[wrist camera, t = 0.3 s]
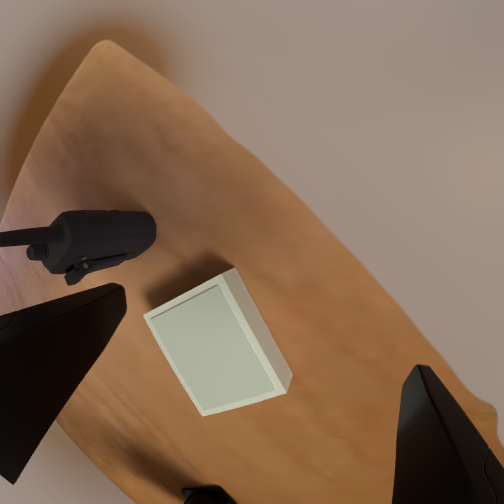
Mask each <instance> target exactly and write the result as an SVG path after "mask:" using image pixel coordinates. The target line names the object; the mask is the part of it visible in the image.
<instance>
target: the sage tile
mask: <svg viewBox="0 0 504 504" xmlns="http://www.w3.org/2000/svg"><path fill="white" fill-rule="evenodd" d="M143 316H144V318H145V320H146V322H147V324H148V326H149V328H150V330H151V331H152V333H153V335H154V337H155V339H156V341H157V342H158V344H159V346H160V348H161V350H162V351H163V353H164V355H165V357H166V358H167V360H168V362H169V364H170V365H171V367H172V369H173V370H174V372H175V374H176V375H177V377H178V379H179V380H180V382H181V384H182V385H183V387H184V388H185V390H186V392H187V393H188V395H189V396H190V398H191V399H192V401H193V403H194V404H195V406H196V407H197V409H198V410H199V412H200V413H201V415H202V416H207V415H211V414H215V413H219V412H223V411H227V410H231V409H234V408H238V407H242V406H245V405H249V404H252V403H256V402H259V401H262V400H266V399H269V398H272V397H275V396H278V395H281V394H284V393H287V390H288V387H289V385H290V382H291V379H292V376H293V373H292V371H291V370H290V368H289V366H288V364H287V362H286V360H285V359H284V357H283V355H282V353H281V351H280V349H279V348H278V346H277V344H276V342H275V340H274V338H273V337H272V335H271V333H270V331H269V329H268V327H267V325H266V324H265V322H264V320H263V318H262V316H261V314H260V312H259V311H258V309H257V307H256V305H255V303H254V301H253V299H252V297H251V296H250V294H249V292H248V290H247V288H246V286H245V284H244V282H243V280H242V279H241V277H240V275H239V273H238V271H237V269H236V267H234V268H232V269H230V270H228V271H226V272H224V273H222V274H220V275H218V276H216V277H214V278H212V279H210V280H208V281H207V282H205V283H203V284H201V285H199V286H197V287H195V288H193V289H191V290H190V291H188V292H186V293H184V294H182V295H180V296H178V297H176V298H174V299H173V300H171V301H169V302H167V303H165V304H163V305H161V306H159V307H157V308H156V309H154V310H152V311H150V312H148V313H146V314H144V315H143Z"/></svg>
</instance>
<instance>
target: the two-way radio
mask: <svg viewBox="0 0 504 504" xmlns="http://www.w3.org/2000/svg"><path fill="white" fill-rule="evenodd" d="M155 238H156V224H155V222H154V219H153V218H152V217H151V216H150V214H148V213H145V212H136V211H117V210H112V211H108V212H107V211H106V210H75V211H67V212H63V213H61V214H60V215H59V216H58V217H57V218H56V219H55V220H54V221H53V222H52V224H51V225H50V226H48V227H38V228H28V229H20V230H13V231H6V232H0V247H7V246H21V245H30V246H28V248H27V251H26V252H27V257H28V258H29V259H30V260H39V261H42V263H43V265H44V267H45V268H47V269H48V270H49V271H50V273H52V274H65V273H66V275H65V276H64V278H65V280H66V283H67V285H68V286H69V285H74V284H77V283H78V282H79V281H81V279H82V278H83V277H84V276H85V275H86V274H88V273H91V272H94V271H98V270H101V269H105V268H109V267H113V266H117V265H119V264H121V263H122V262H123V261H125V260H130V259H133V258H136V257H137V256H139V255H140V254H142V253H143V252H144V251H146V250H147V249H148V248H149V247H150V246H151V245H152V244H153V242H154V241H155Z"/></svg>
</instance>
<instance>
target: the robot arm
mask: <svg viewBox="0 0 504 504" xmlns="http://www.w3.org/2000/svg"><path fill="white" fill-rule="evenodd" d="M126 311H127V303H126V295H125V289H124V287H123V286H122V285H119V284H116V283H109V284H105V285H102V286H99V287H95V288H92V289H88V290H85V291H82V292H78V293H75V294H71V295H68V296H65V297H61V298H58V299H55V300H51V301H48V302H45V303H41V304H38V305H34V306H31V307H28V308H25V309H21V310H19V311H14V312H11V313H8V314H4V315H1V316H0V475H1V476H2V477H4V478H5V479H6V480H7V481H9V482H10V483H11V484H13V485H14V483H15V482H16V481H17V479H18V477H19V476H20V474H21V472H22V471H23V469H24V467H25V466H26V464H27V463H28V461H29V459H30V458H31V456H32V454H33V453H34V451H35V450H36V448H37V446H38V445H39V443H40V441H41V440H42V438H43V437H44V435H45V434H46V432H47V431H48V429H49V428H50V426H51V425H52V423H53V422H54V420H55V419H56V417H57V416H58V414H59V413H60V411H61V410H62V408H63V407H64V405H65V404H66V402H67V401H68V400H69V398H70V397H71V395H72V394H73V392H74V391H75V389H76V388H77V387H78V385H79V384H80V382H81V381H82V380H83V378H84V377H85V375H86V374H87V373H88V371H89V370H90V368H91V367H92V366H93V364H94V363H95V361H96V360H97V359H98V357H99V356H100V355H101V353H102V352H103V350H104V349H105V347H106V346H107V344H108V342H109V341H110V339H111V337H112V336H113V334H114V332H115V330H116V329H117V327H118V325H119V324H120V322H121V320H122V319H123V317H124V316H125V314H126ZM181 493H182V494H183V495H184V496H185V497H186V498H187V499H186V501H185V502H184V504H235V502H234V501H233V500H232V499H231V498H230V497H229V496H228V495H227V494H226V492H225V491H224V490H223V489H222V488H220V487H209V488H183V489H182V490H181ZM392 504H504V468H503V466H502V465H501V463H500V462H499V460H498V459H497V458H496V456H495V455H494V453H493V452H492V450H491V449H490V448H489V446H488V444H487V443H486V442H485V440H484V439H483V437H482V436H481V434H480V433H479V432H478V430H477V429H476V427H475V426H474V425H473V423H472V422H471V420H470V419H469V418H468V416H467V415H466V414H465V412H464V411H463V409H462V408H461V407H460V405H459V404H458V403H457V401H456V400H455V399H454V397H453V396H452V395H451V393H450V392H449V391H448V389H447V388H446V387H445V386H444V384H443V383H442V382H441V380H440V379H439V378H438V376H437V375H436V374H435V373H434V371H433V370H432V369H431V368H430V367H429V366H427V365H421V364H417V365H416V366H415V367H414V368H413V369H412V371H411V373H410V374H409V376H408V377H407V379H406V380H405V382H404V384H403V387H402V393H401V403H400V412H399V420H398V428H397V441H396V462H395V476H394V488H393V497H392Z"/></svg>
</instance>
